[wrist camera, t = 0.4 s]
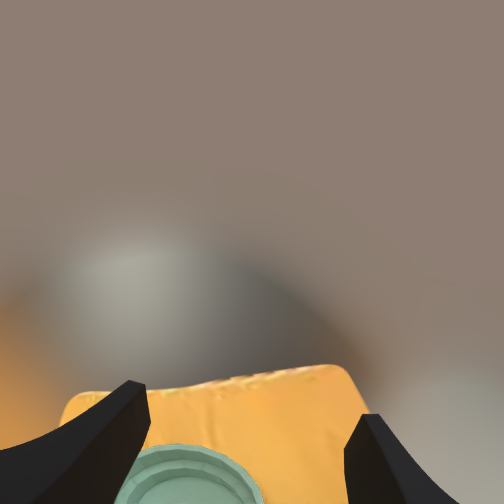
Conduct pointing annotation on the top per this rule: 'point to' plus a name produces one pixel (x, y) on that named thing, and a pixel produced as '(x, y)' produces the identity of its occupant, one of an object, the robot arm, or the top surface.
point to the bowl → (187, 478)
